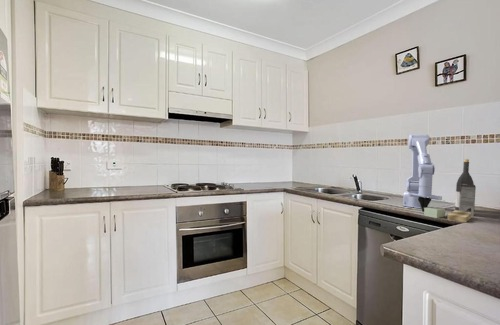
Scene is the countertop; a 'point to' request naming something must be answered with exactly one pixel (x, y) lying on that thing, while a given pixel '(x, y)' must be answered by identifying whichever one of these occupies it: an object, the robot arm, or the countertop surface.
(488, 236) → the countertop surface
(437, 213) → the sage block
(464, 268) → the countertop surface
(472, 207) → the coffee box
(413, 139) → the robot arm
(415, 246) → the countertop surface
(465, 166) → the wine bottle
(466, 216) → the bamboo board
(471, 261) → the countertop surface
